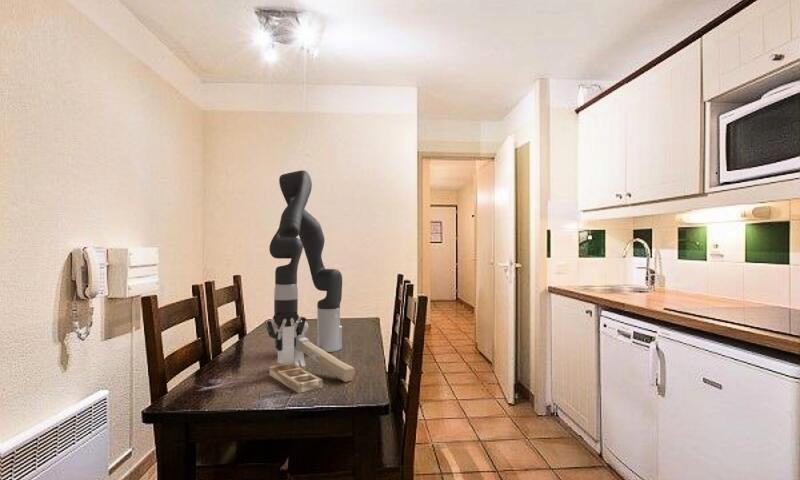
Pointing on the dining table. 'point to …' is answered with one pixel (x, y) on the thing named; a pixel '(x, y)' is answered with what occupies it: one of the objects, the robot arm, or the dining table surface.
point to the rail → (296, 377)
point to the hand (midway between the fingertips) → (285, 349)
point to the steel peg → (287, 345)
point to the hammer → (320, 357)
